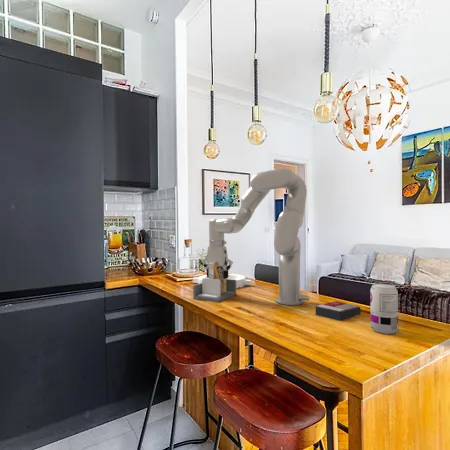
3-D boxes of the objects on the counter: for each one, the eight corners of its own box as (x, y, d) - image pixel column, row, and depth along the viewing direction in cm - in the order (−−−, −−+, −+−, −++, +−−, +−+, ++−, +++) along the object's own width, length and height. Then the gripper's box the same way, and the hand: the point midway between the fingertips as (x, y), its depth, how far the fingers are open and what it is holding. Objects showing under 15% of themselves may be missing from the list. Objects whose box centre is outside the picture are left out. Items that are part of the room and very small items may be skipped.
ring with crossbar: (190, 283, 197) (190, 275, 197) (230, 279, 210) (230, 272, 210) (210, 292, 172) (210, 283, 172) (254, 286, 185) (254, 278, 185)
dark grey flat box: (361, 305, 128) (340, 309, 118) (360, 316, 127) (340, 321, 118) (336, 300, 136) (315, 304, 126) (335, 310, 136) (314, 315, 126)
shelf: (236, 294, 164) (236, 275, 164) (218, 302, 148) (218, 281, 148) (212, 291, 170) (212, 274, 170) (193, 298, 155) (193, 279, 155)
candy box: (221, 290, 165) (220, 261, 165) (226, 292, 162) (226, 261, 162) (208, 293, 159) (208, 262, 159) (214, 295, 156) (213, 263, 156)
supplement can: (366, 330, 107) (366, 285, 107) (376, 325, 113) (375, 282, 113) (392, 336, 101) (392, 289, 101) (401, 330, 107) (401, 285, 107)
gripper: (235, 243, 160) (236, 277, 160) (206, 242, 168) (206, 275, 168) (228, 244, 153) (229, 280, 153) (198, 243, 162) (198, 277, 162)
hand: (217, 277), depth 161 cm, fingers open, 9 cm apart
